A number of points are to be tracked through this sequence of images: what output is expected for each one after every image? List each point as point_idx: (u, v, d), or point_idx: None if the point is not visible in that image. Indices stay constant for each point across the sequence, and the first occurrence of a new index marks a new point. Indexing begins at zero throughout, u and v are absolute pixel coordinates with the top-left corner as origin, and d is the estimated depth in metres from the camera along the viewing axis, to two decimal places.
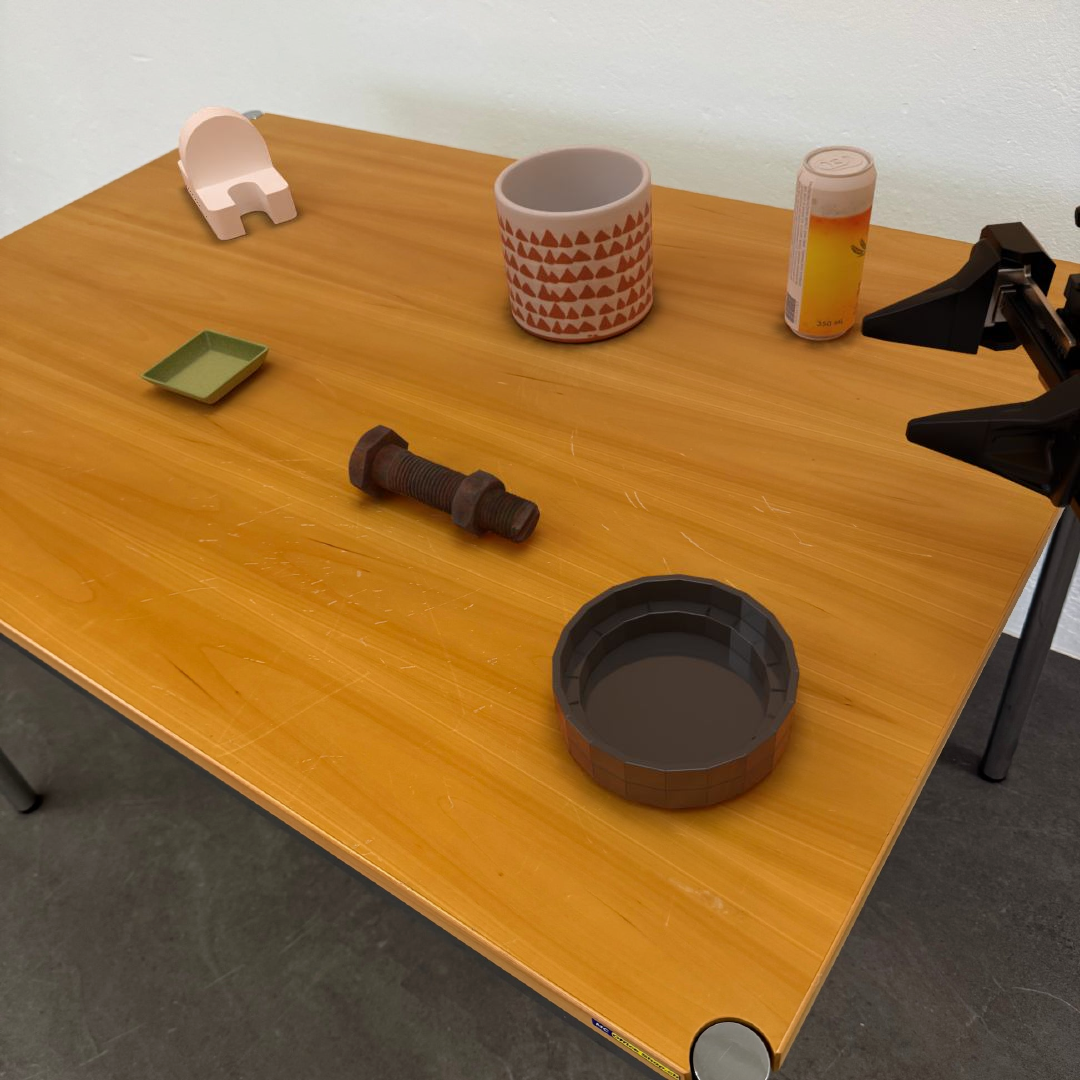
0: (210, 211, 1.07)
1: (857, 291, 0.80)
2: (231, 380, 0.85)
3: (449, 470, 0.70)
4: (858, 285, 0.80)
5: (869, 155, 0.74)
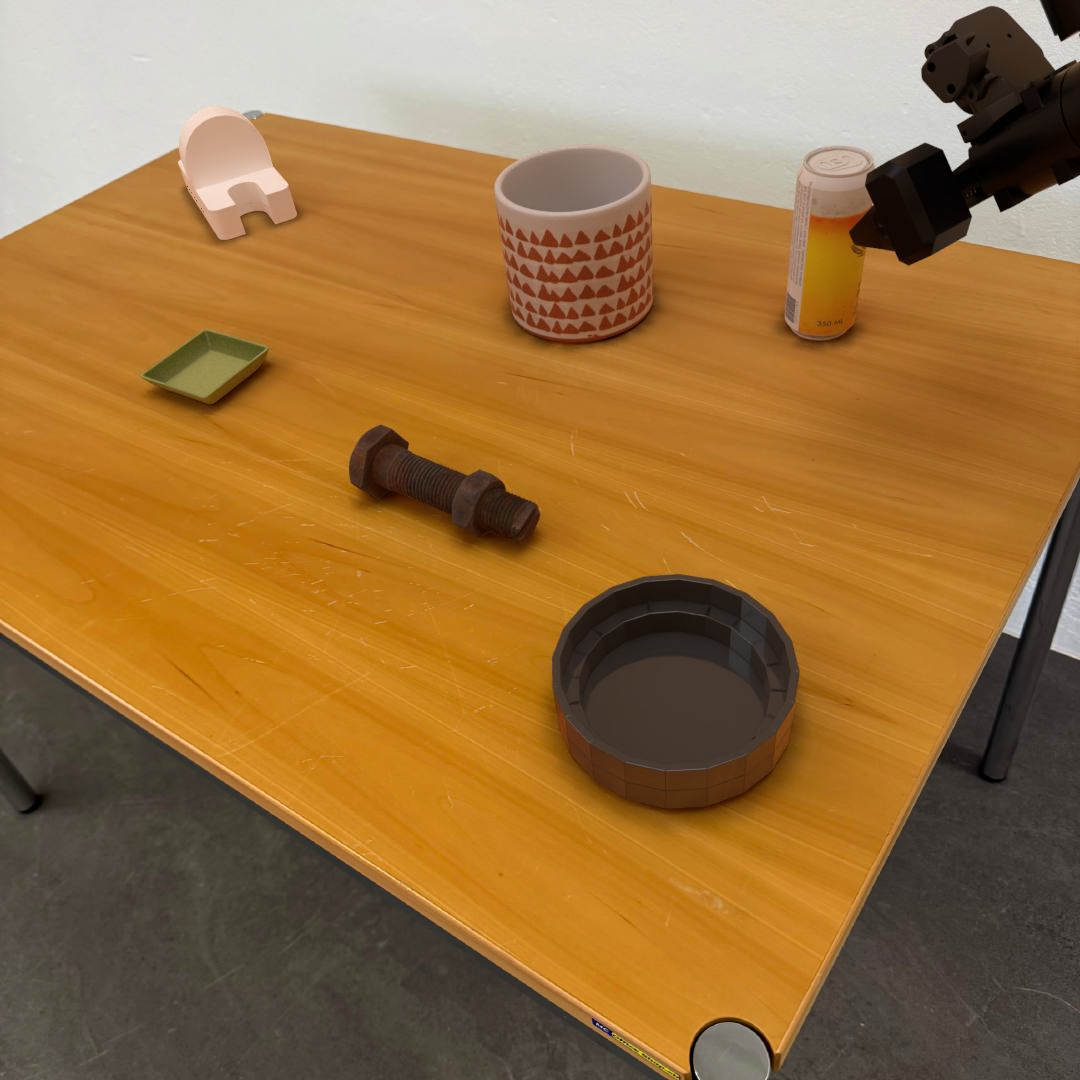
0: (210, 211, 1.07)
1: (857, 291, 0.80)
2: (231, 380, 0.85)
3: (449, 470, 0.70)
4: (858, 285, 0.80)
5: (869, 155, 0.74)
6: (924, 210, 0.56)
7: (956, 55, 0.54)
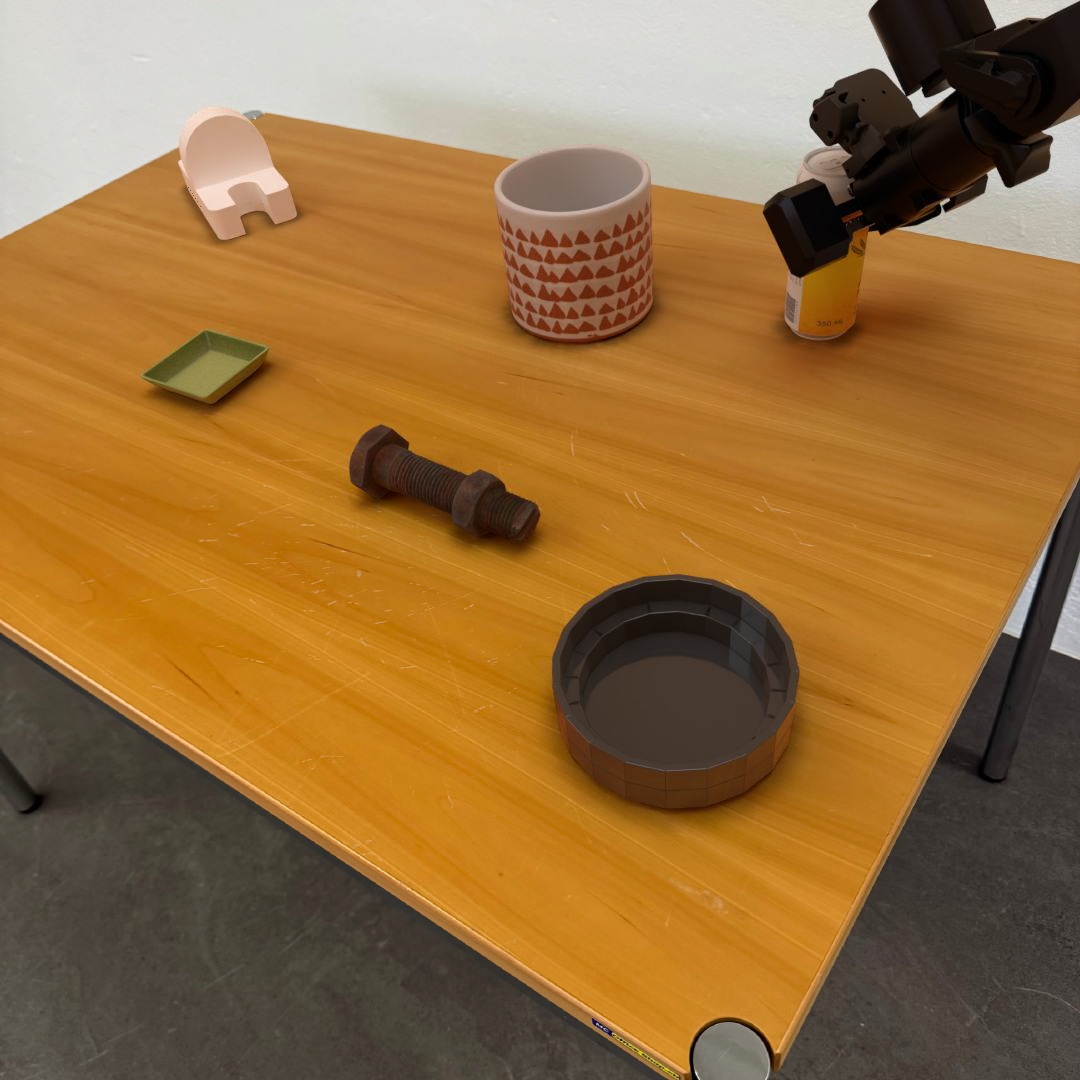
0: (210, 211, 1.07)
1: (857, 291, 0.80)
2: (231, 380, 0.85)
3: (449, 470, 0.70)
4: (858, 285, 0.80)
5: None
6: (805, 232, 0.68)
7: (830, 108, 0.67)
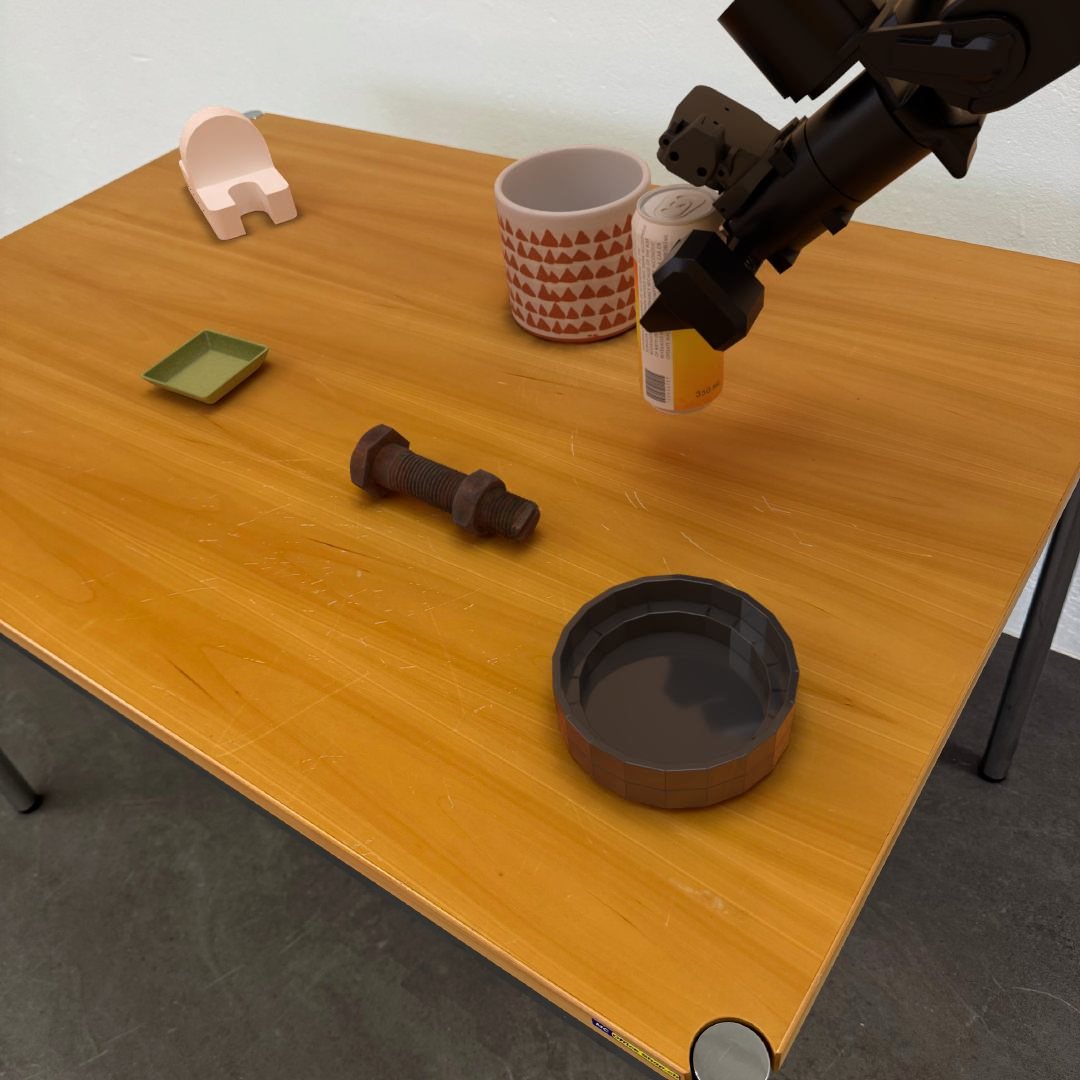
0: (210, 211, 1.07)
1: None
2: (231, 380, 0.85)
3: (450, 469, 0.70)
4: None
5: (705, 188, 0.61)
6: (726, 295, 0.53)
7: (698, 139, 0.52)
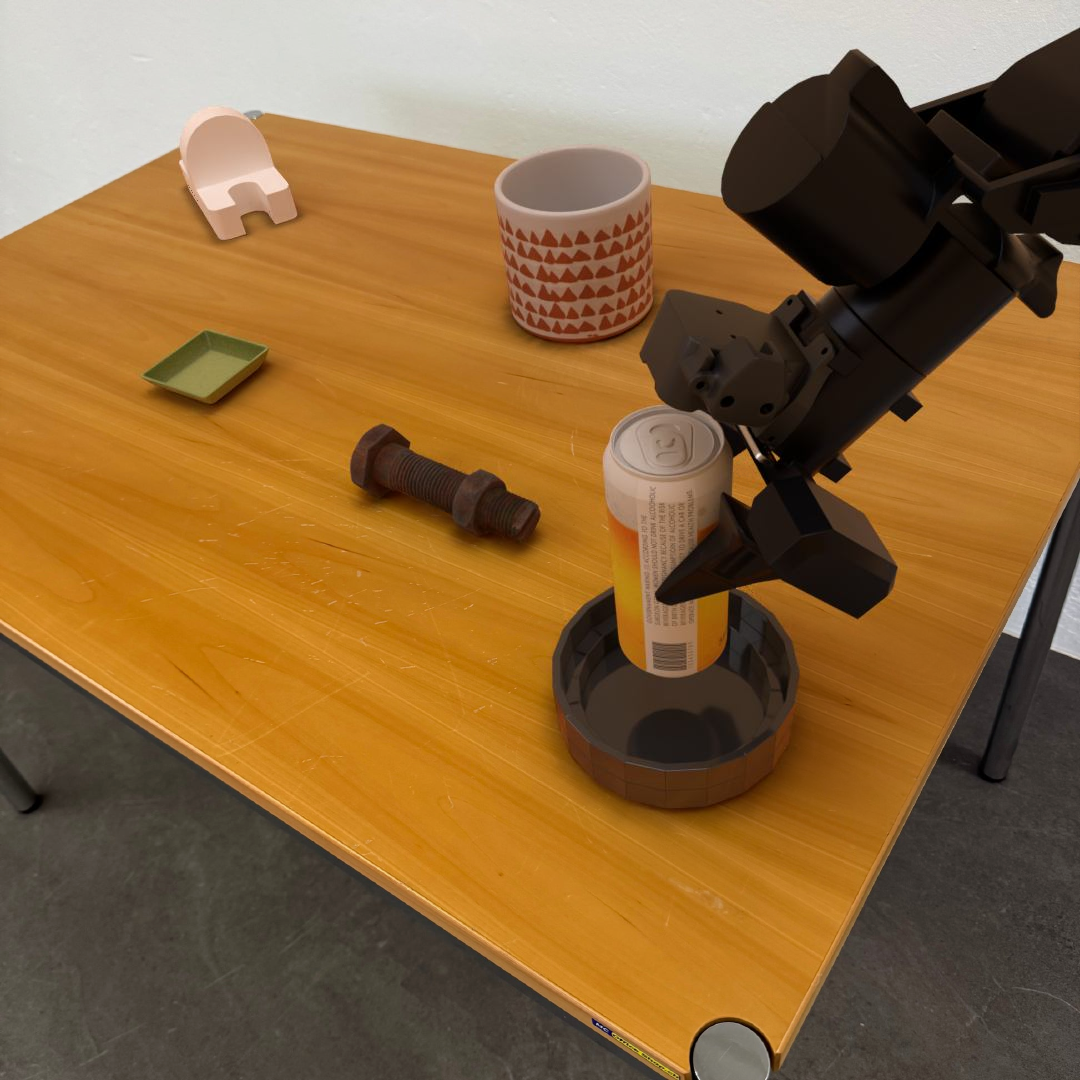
0: (210, 211, 1.07)
1: None
2: (231, 380, 0.85)
3: (450, 469, 0.70)
4: None
5: None
6: (873, 553, 0.38)
7: (764, 372, 0.37)
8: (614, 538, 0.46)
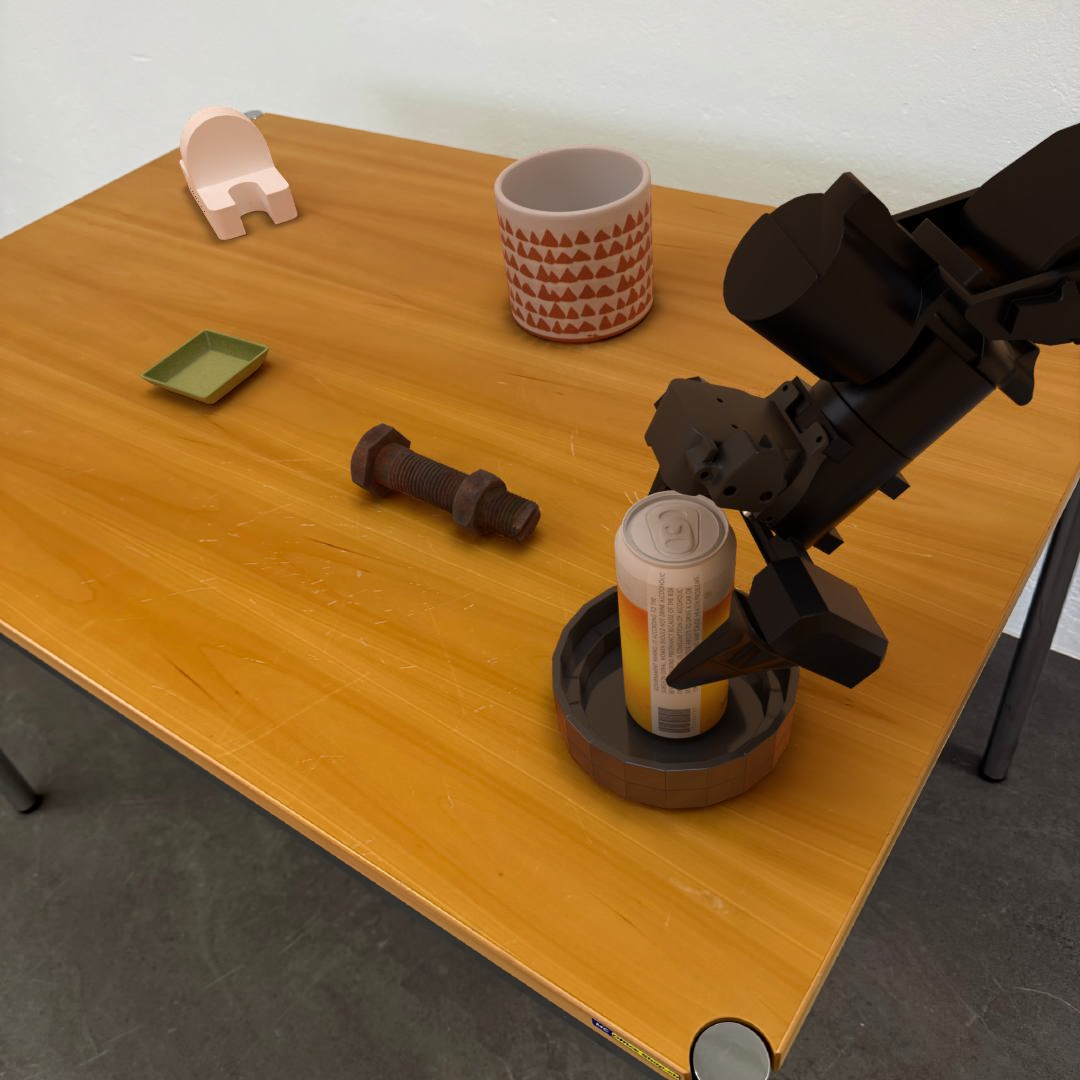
0: (210, 211, 1.07)
1: None
2: (231, 380, 0.85)
3: (450, 469, 0.70)
4: None
5: None
6: (866, 630, 0.41)
7: (764, 465, 0.39)
8: (624, 614, 0.50)
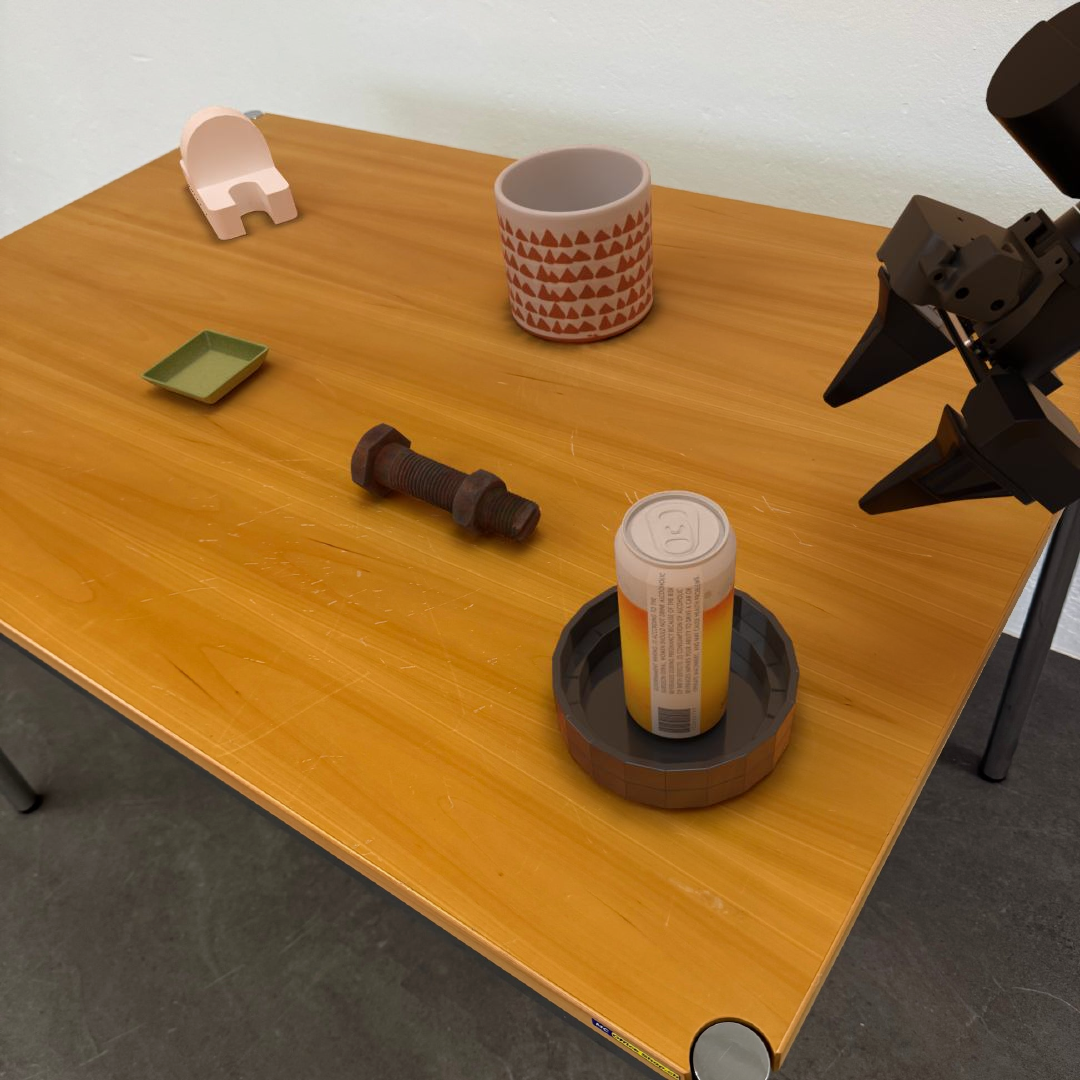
0: (210, 211, 1.07)
1: None
2: (231, 380, 0.85)
3: (451, 469, 0.70)
4: None
5: (680, 493, 0.48)
6: None
7: (1002, 268, 0.40)
8: (624, 614, 0.50)
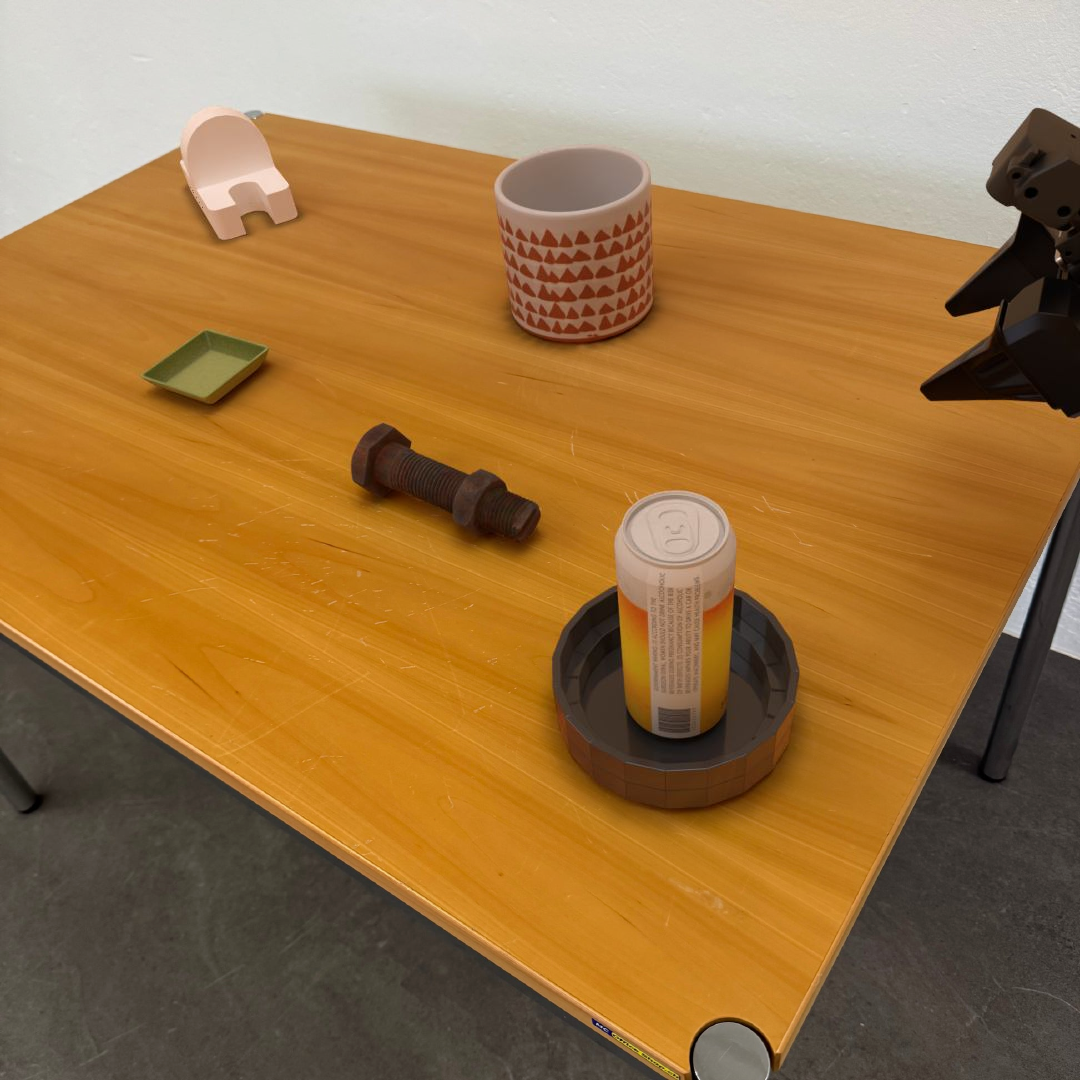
0: (210, 211, 1.07)
1: None
2: (231, 380, 0.85)
3: (451, 469, 0.70)
4: None
5: (680, 493, 0.48)
6: None
7: (1070, 174, 0.44)
8: (624, 614, 0.50)
